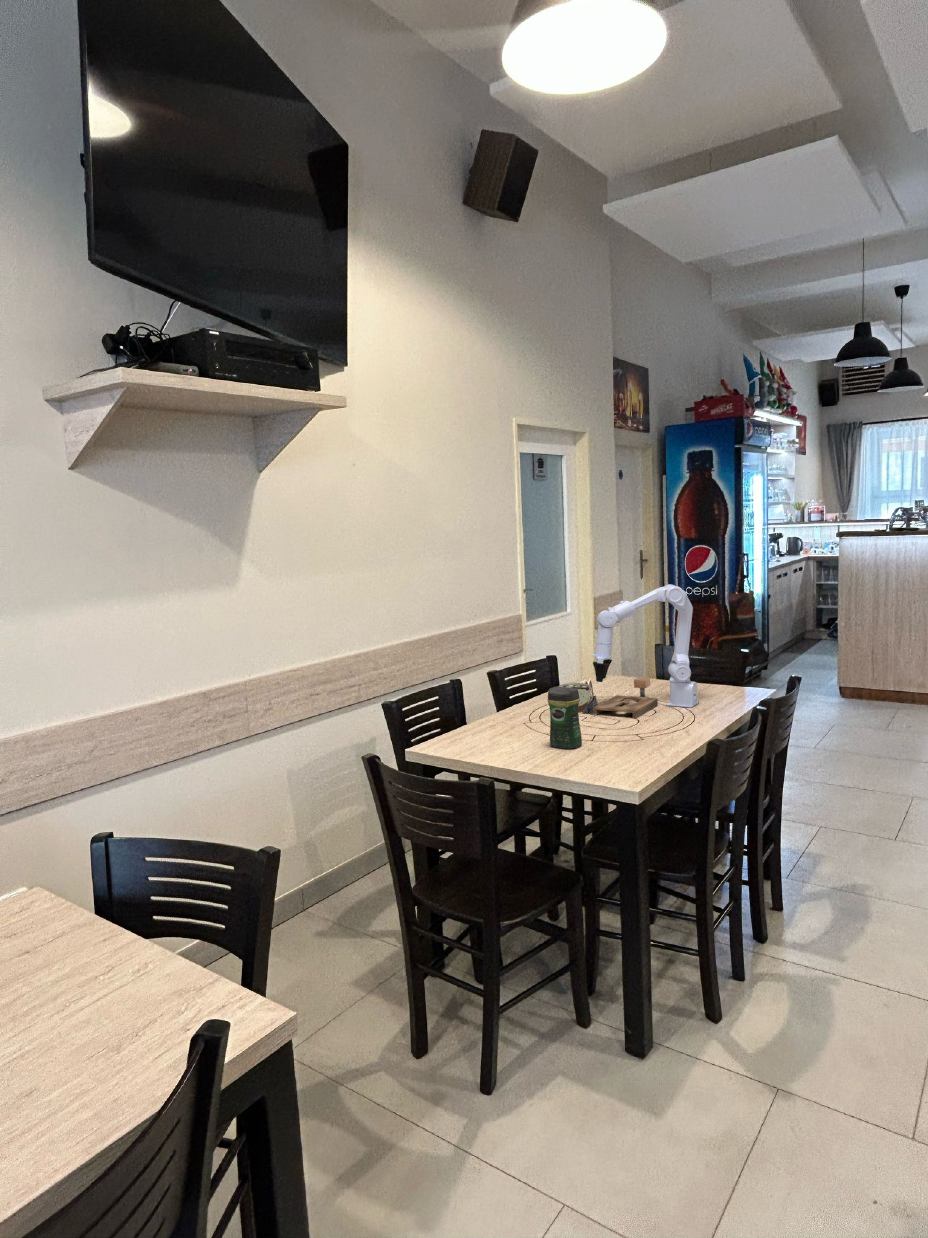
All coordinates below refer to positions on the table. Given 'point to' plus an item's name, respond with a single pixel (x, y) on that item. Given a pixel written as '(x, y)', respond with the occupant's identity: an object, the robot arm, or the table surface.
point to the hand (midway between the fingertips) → (600, 680)
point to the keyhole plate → (635, 708)
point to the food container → (580, 693)
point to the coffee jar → (564, 717)
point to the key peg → (642, 685)
